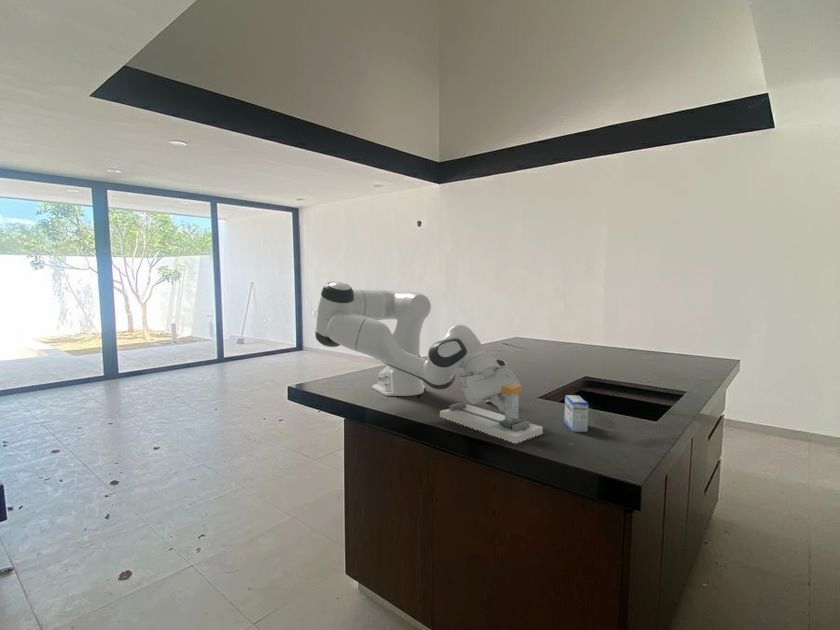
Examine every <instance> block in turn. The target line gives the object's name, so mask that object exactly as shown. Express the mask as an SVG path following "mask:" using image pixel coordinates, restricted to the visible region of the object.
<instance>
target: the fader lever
mask: <svg viewBox="0 0 840 630" xmlns="http://www.w3.org/2000/svg"><path fill="white" fill-rule="evenodd" d="M501 393H502V394H505V411H504V415H505V419H504V420H501V421H500V425H501V426H504V427H507V428H510V429H512V425H514V424H517V423H520V422H523V421H524V420H523V419H520V418H519V405H520V404H519V399H520V398H519V397H520V396H519V394H522V393H523V385H521V384H520V385H516V384H509V385H505V386H501Z"/></svg>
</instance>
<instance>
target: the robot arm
mask: <svg viewBox="0 0 840 630" xmlns="http://www.w3.org/2000/svg"><path fill="white" fill-rule="evenodd" d="M320 295H321V296H320V300H319V302H318V305H317V310H316V312H317V314H316V315H317V317H316V327H315V333H314V334H315V339H316V340H317V342H318V343H319V344H321V345H322V346H323V347H328V348H329V347H330V348H337V347H339V346H342V347H345V348H347V349H349V350H350V351H351V350H352V351H355V352H357V353H361V354H364V355H366V356H369V357H371V358H374V359H375V360H377V361H379V362H381V363H384V364H385V365H386V367H384V368H383V369H382V370H381V371H380V372H378V376H377V382H376V383H374V384H372V385H371V388H372V389H374V391H377V392H379V393H380V394H382V395H384V396H386V397H390V396H391V397H392V396H393V397H410V396H417V395H420V394H423V393H424V392H425V389H426V385H428V386H429V387H430V388H432V389H435V390H445V389H448V388H449V387H451V386H452V385H453V384H454V383H455V380H456V375H457V370H458V369H460V368H461V369H463V371H464V373H461V374H460V375H459V377H458V381H459V384H460V385H461V388H462V391H463V394H464V395H465V397H466V400H467V401H468V403H469V404H470V405H471V404H472V405H475V404H479V403H484V402H485V401H488V400H490V401H491V402H490V403H491V404H493V406H496V407H497V409H498V410H499V411H500V412H505V394H502V393H501V386H505V385H509V384H516V385H521V383H520V381H519V379H518V378H517V376H516V375H515V374H514V372H513V371H512V370H511V369H510V368H509V367H508V363H507V362H506V360H503V359H499V358H494V357H490V355H489V353H488V352H486V350H485V349H484V348H483V346H482V342H480V339H479V338H478V337H477V336H476V334H475V333H474V332H473V331H472V329H470V328H469V326H467V325H465V324H457V325H453V326H452V327H450V328H448V329H447V330H446V331H445V334H444V336H442V338H441V339H440V340H438V341H436V342H434V343H433V344H432V345H431V346H430V348H429V349H428V353H427V358H426V359H425V358H423V357H421V354H420V343H421V342H420V338H421V332H422V328H423V324H424V321H425V320H426V318H427V317H428V316H429V314H430V313H431V309H432V304H431V301H430V299H429V297H427V296H426V295H425V294H422V293H420V292H417V291H399V290H376V289H371V290H370V289H353V288H352V286H351V285H349V284H347V283H344V282H341V281H330V282H328V283H326V284H324V285H323V287H322V289H321V293H320ZM382 320H396V326H395V329H394V331H393V332H392V331H391V330H390V328H389V327H388V326H387V325H386V324H385V323H383V322H381V321H382ZM424 383H425V384H426V385H424Z"/></svg>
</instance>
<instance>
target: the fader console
mask: <svg viewBox="0 0 840 630" xmlns="http://www.w3.org/2000/svg"><path fill="white" fill-rule="evenodd" d="M448 407H449V408H447V409H442V410H439V418H441V417H442V418H441V419H444V418H445V419H444V420H446V419H447V421H449V420H450V422H452V421H453V423H455V422H456V423H455V424H458V423H459V424H458V425H461V424H462V425H461V426H463V425H464V426H463V427H466V426H467V428H469V427H470V429H472V428H473V429H472V430H475V431H477V430H479V431H478V432H480V431H481V432H480V433H483V432H484V433H483V434H486V433H487V434H486V435H489V436H492V437H494V436H495V438H497V437H498V438H497V439H500V438H502V439H501V440H503V439H504V440H503V441H506V440H507V441H506V442H508V441H509V443H511V442H512V443H511V444H514V443H515V444H514V445H517V444H520V443H523V442H525V441H527V439H528V440H530V439H532V437H533V438H536V437H537V436H540V435H543V434H544V432H543V430H544V427H543V425H542V426H541V425H537V424H535V423H531V422H530V421H528V420H523V422H520V423H517V424H514V425H512V429H510V428H507V427H504V426H501V425H500V421H501V420H504V419H505V414H502V413H498V412H495V411H492V410H488V409H484V408H481V407H478V406H474V405H473V404H472V405H471V404H467V402H464V401H462V402H458V403H454V404H450V405H449V406H448ZM535 436H536V437H535ZM529 438H530V439H529ZM524 440H525V441H524ZM522 441H523V442H522ZM519 442H520V443H519ZM516 443H517V444H516Z"/></svg>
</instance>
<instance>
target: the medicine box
mask: <svg viewBox="0 0 840 630" xmlns="http://www.w3.org/2000/svg"><path fill="white" fill-rule="evenodd" d="M563 419H564V422H563V423H564V424H565V425H566V426H567V427H568V428H569V429H570V431H572V432H574V433H575V432H576V433H581V432H583V433H584V432H585V433H586V432H588V425H589V423H588V421H589V403H588V401H586V400H585V399H584V398H582V397H581V395H576V394H574V395H572V394H571V395H569V394H568V395H565V397H564V418H563Z"/></svg>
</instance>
